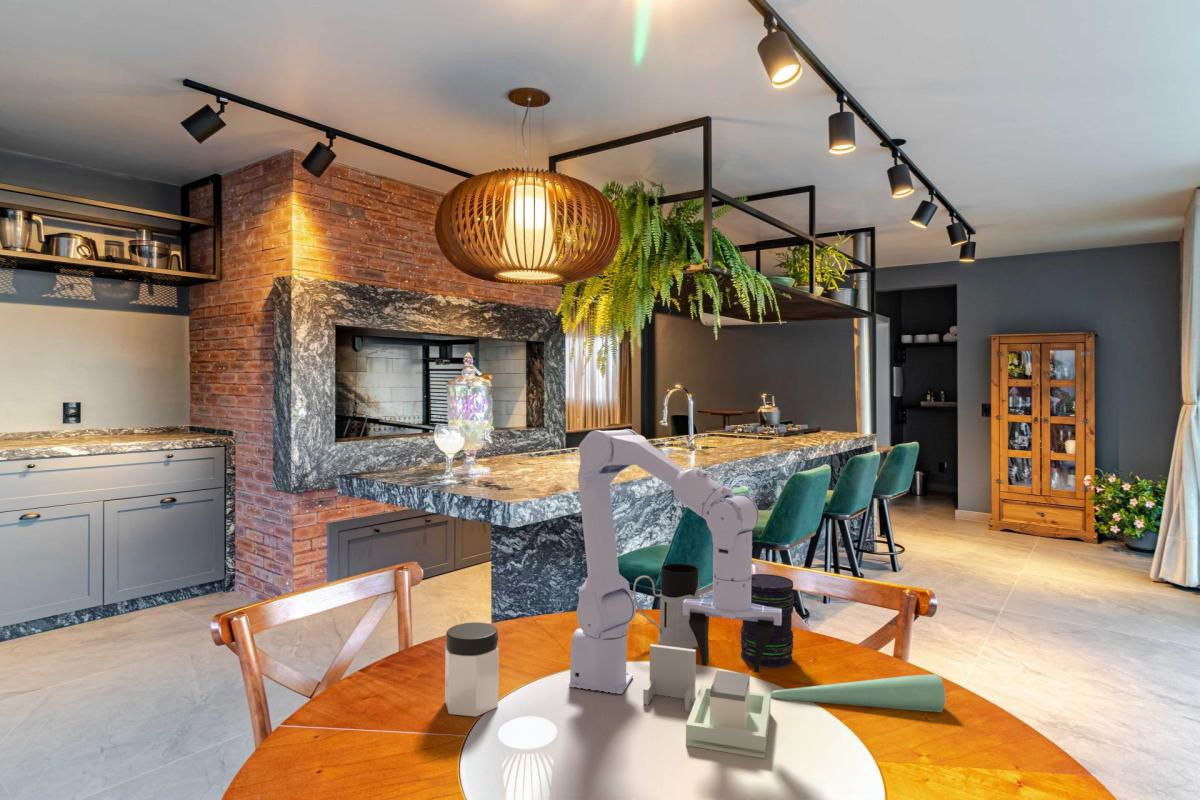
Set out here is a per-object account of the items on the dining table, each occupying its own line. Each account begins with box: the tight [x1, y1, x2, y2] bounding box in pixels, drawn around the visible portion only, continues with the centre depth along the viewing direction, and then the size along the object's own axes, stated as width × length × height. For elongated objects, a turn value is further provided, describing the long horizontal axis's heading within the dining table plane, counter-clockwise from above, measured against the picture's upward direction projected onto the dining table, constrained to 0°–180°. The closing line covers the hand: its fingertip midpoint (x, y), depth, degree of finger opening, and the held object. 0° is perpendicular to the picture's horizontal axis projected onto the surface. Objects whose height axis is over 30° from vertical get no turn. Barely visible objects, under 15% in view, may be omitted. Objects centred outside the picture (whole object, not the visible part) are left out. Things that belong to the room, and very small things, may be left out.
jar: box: [444, 621, 500, 718], centre depth 108 cm, size 9×8×12 cm
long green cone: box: [769, 673, 946, 713], centre depth 110 cm, size 5×6×27 cm
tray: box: [685, 684, 771, 760], centre depth 101 cm, size 11×14×3 cm
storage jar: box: [739, 573, 795, 669], centre depth 129 cm, size 10×10×15 cm
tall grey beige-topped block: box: [710, 669, 751, 730], centre depth 101 cm, size 5×8×6 cm, turn 163°
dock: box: [642, 643, 697, 713], centre depth 110 cm, size 8×5×8 cm
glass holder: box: [632, 563, 700, 649], centre depth 137 cm, size 9×14×15 cm, turn 102°
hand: (730, 666), depth 101 cm, fingers open, 7 cm apart
